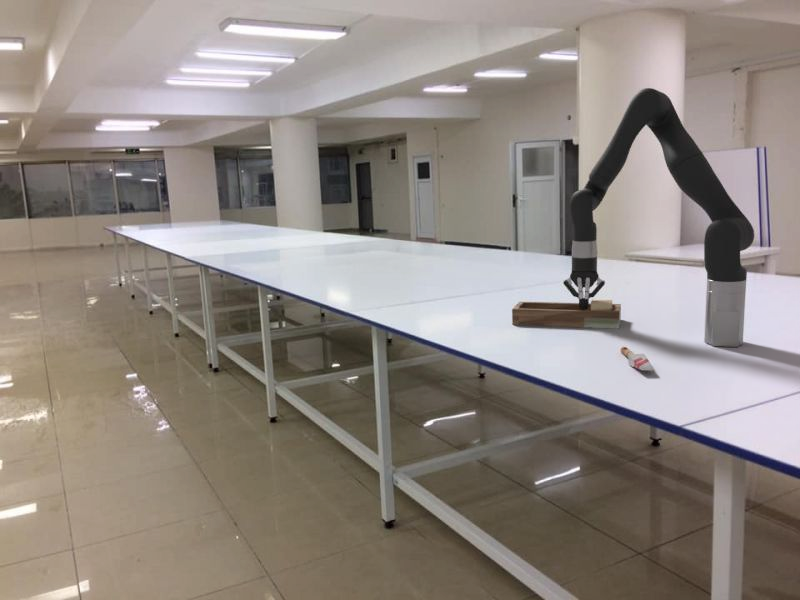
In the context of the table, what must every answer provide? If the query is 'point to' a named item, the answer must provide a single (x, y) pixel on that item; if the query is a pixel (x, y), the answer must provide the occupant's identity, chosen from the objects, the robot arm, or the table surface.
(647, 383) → the table surface
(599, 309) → the beech block
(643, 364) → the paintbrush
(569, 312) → the box
